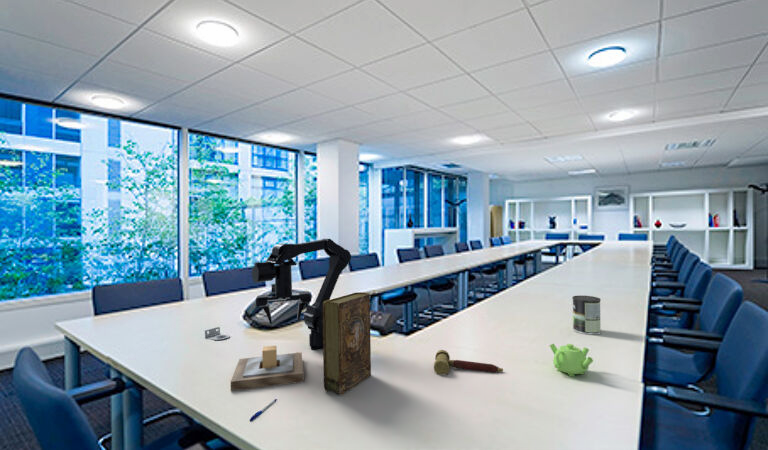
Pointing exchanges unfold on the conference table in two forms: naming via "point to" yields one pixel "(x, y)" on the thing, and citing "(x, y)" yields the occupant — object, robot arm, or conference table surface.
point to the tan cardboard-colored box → (269, 356)
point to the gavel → (460, 364)
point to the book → (346, 342)
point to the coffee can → (586, 315)
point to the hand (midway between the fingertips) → (284, 322)
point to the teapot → (571, 359)
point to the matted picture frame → (267, 372)
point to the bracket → (214, 332)
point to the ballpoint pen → (261, 410)
